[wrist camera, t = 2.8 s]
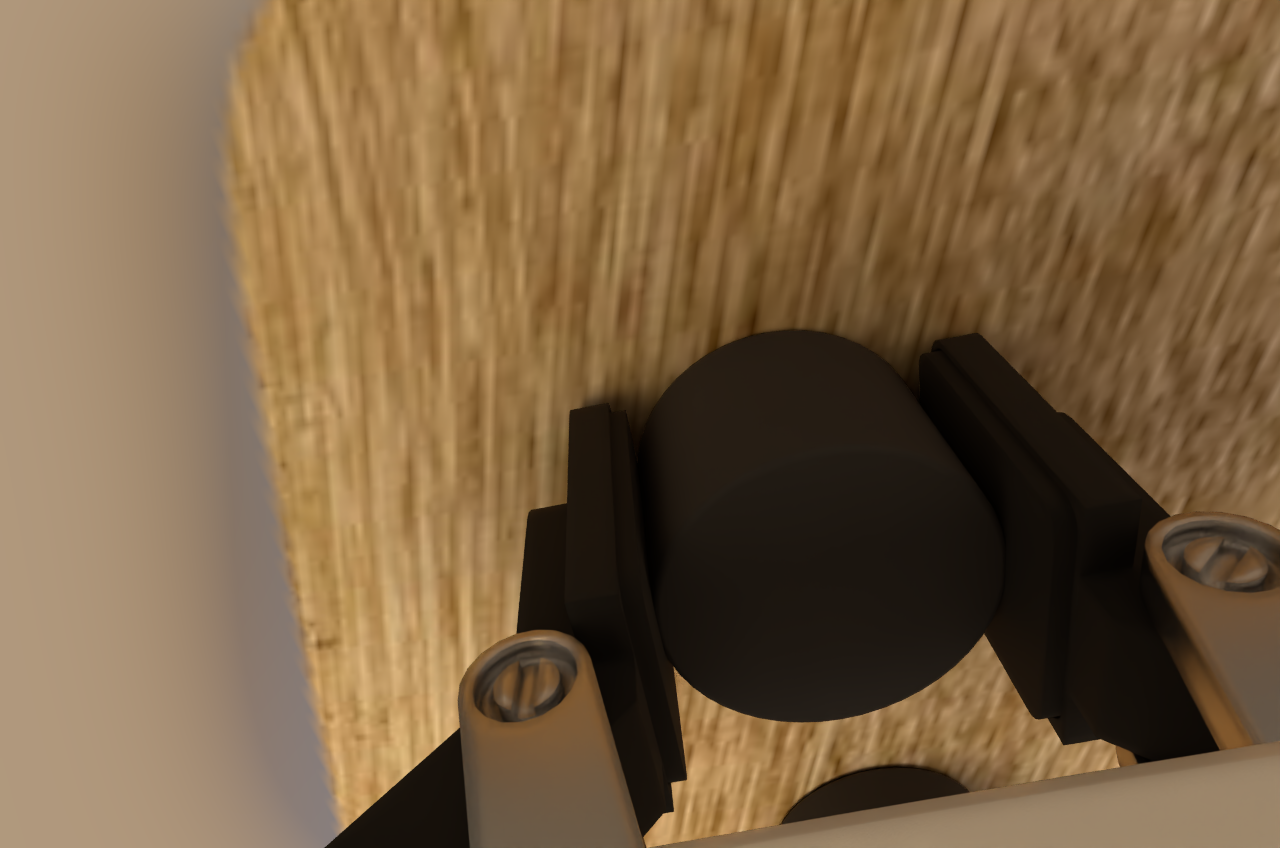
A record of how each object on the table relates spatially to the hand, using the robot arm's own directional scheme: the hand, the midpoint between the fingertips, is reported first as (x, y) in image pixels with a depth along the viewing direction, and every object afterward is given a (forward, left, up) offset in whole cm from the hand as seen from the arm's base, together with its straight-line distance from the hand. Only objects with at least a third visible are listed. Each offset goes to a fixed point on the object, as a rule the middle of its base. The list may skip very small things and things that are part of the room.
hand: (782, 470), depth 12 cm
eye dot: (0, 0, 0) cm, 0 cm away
